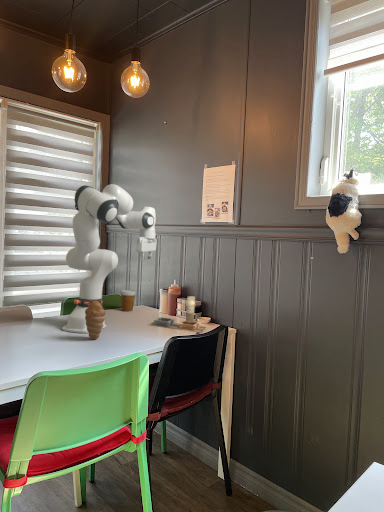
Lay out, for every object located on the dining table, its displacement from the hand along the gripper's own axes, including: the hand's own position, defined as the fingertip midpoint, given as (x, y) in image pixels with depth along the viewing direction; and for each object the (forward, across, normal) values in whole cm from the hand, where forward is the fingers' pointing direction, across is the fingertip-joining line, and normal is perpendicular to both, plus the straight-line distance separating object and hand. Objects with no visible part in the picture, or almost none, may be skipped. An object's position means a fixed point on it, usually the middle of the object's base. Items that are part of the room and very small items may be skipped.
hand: (145, 259), depth 218 cm
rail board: (+33, -15, -26) cm, 45 cm away
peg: (+32, -15, -33) cm, 48 cm away
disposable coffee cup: (+33, +10, +15) cm, 38 cm away
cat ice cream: (+33, -52, 0) cm, 62 cm away
